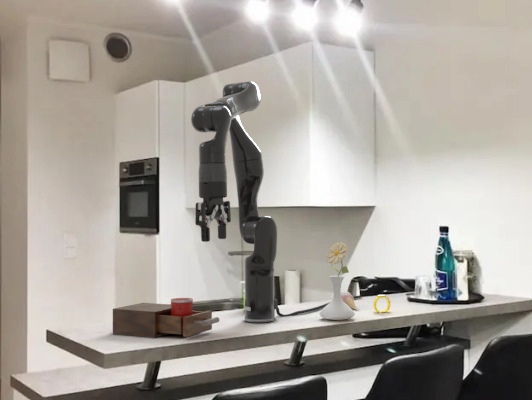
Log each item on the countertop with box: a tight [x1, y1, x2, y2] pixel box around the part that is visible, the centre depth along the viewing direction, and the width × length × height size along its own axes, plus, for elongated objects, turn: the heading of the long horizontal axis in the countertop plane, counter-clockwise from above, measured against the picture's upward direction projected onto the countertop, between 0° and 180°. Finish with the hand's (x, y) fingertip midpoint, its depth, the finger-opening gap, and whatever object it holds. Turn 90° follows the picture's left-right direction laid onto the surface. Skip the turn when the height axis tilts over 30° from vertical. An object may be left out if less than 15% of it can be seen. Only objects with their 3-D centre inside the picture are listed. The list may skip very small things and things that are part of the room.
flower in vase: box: [319, 241, 356, 321], centre depth 226 cm, size 13×11×25 cm
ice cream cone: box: [341, 290, 358, 311], centre depth 253 cm, size 5×5×15 cm
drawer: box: [156, 310, 220, 338], centre depth 199 cm, size 18×12×5 cm
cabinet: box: [112, 302, 171, 339], centre depth 204 cm, size 15×14×7 cm
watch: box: [373, 294, 391, 314], centre depth 241 cm, size 6×3×6 cm, turn 115°
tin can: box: [170, 297, 194, 329], centre depth 200 cm, size 6×6×8 cm
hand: (214, 240), depth 191 cm, fingers open, 8 cm apart
